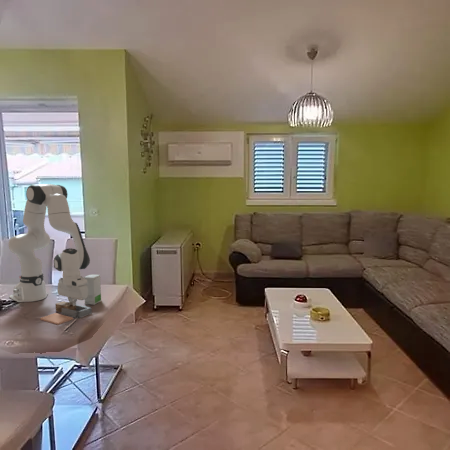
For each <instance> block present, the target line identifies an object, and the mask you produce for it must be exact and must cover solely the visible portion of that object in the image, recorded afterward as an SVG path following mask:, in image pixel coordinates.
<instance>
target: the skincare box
mask: <svg viewBox="0 0 450 450" xmlns="http://www.w3.org/2000/svg"><path fill="white" fill-rule="evenodd" d="M83 278H84V279H86V280H87V284H86V285H87V287H88V298H87V299H85V300H84V305H90V306H91V305H96V304H99V303H100V302H102V289H101V288H102V286H101V285H102V284H101V274H88V275H86V276H84V277H83Z"/></svg>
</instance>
